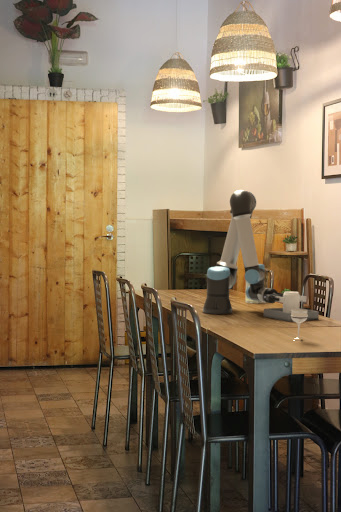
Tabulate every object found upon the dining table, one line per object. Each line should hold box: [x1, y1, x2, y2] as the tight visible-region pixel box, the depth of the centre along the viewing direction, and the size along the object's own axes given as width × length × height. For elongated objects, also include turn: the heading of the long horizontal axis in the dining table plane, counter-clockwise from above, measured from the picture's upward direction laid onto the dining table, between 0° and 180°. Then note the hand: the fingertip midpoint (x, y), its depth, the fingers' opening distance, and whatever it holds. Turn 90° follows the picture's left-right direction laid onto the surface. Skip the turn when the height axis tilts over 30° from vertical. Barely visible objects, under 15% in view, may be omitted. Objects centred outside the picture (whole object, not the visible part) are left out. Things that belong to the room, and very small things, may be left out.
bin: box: [263, 307, 319, 323], centre depth 354 cm, size 19×19×4 cm
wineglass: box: [291, 308, 309, 339], centre depth 287 cm, size 7×7×12 cm
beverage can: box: [282, 290, 301, 313], centre depth 354 cm, size 8×8×12 cm
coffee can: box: [244, 281, 264, 304], centre depth 422 cm, size 10×10×14 cm
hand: (295, 299), depth 351 cm, fingers open, 13 cm apart
